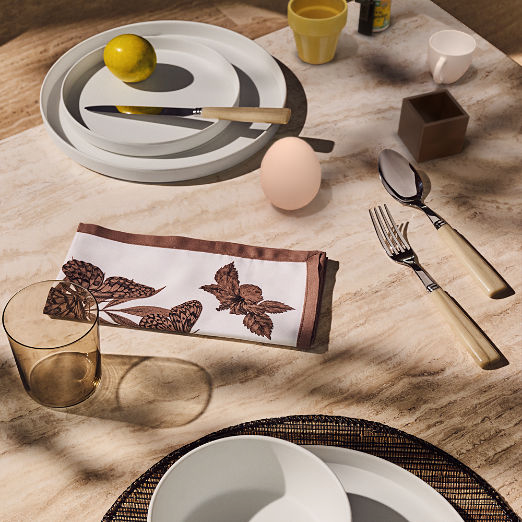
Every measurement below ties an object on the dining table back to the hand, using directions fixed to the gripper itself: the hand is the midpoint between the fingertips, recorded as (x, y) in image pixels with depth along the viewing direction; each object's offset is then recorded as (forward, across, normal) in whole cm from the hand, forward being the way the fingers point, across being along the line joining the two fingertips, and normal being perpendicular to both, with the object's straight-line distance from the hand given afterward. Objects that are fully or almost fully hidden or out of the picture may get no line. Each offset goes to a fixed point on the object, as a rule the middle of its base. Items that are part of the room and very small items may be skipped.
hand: (373, 23), depth 130 cm
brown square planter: (0, +27, +23) cm, 36 cm away
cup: (0, +10, +18) cm, 21 cm away
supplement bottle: (0, 0, 0) cm, 1 cm away
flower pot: (0, +14, -5) cm, 15 cm away
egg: (0, +50, +11) cm, 51 cm away
